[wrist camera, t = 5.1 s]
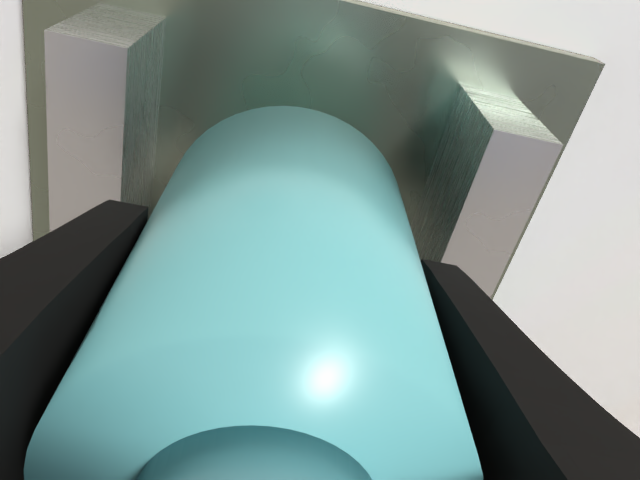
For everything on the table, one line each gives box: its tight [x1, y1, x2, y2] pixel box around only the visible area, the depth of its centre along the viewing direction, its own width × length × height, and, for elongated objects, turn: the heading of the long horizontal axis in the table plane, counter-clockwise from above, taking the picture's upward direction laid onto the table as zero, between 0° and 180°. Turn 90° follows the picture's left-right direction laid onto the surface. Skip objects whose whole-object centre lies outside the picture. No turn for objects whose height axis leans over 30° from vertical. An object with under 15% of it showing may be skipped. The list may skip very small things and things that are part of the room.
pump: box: [24, 106, 483, 480], centre depth 8 cm, size 4×4×7 cm
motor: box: [22, 0, 605, 300], centre depth 12 cm, size 11×15×6 cm
